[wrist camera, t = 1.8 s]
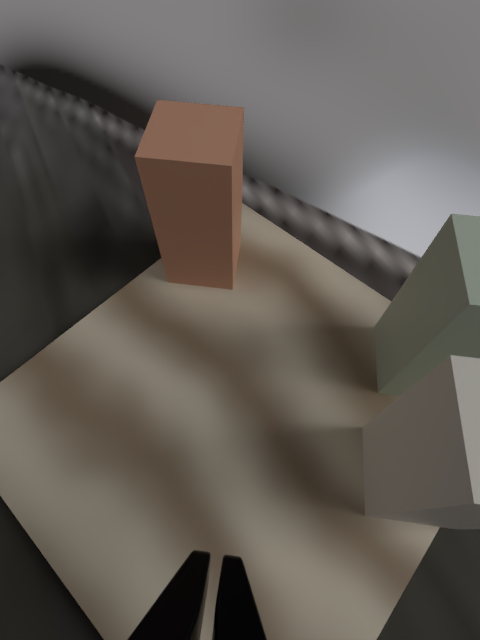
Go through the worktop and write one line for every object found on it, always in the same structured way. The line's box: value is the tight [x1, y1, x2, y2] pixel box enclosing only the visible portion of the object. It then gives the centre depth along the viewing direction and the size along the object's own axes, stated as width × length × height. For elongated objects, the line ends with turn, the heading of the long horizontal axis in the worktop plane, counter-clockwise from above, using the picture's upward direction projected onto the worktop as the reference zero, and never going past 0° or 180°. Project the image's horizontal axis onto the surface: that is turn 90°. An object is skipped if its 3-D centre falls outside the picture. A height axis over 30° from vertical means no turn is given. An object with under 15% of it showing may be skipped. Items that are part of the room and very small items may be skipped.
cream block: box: [362, 355, 480, 529], centre depth 16 cm, size 4×4×10 cm
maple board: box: [0, 203, 440, 640], centre depth 22 cm, size 24×23×1 cm
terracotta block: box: [135, 100, 244, 290], centre depth 23 cm, size 4×4×10 cm
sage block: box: [374, 214, 480, 396], centre depth 19 cm, size 4×4×10 cm
